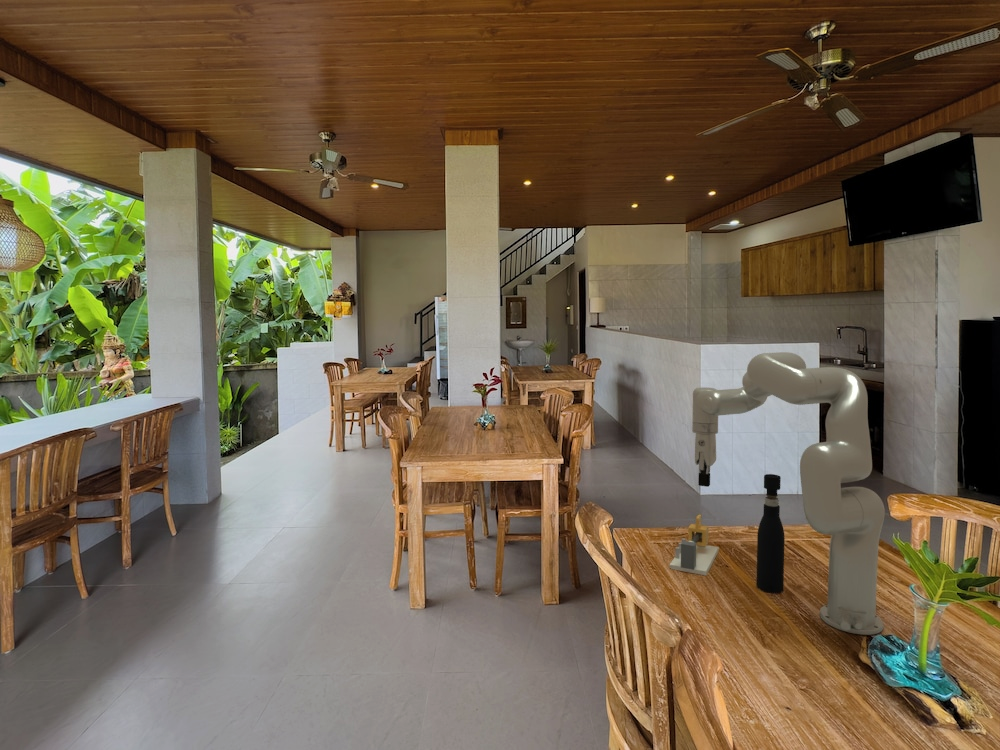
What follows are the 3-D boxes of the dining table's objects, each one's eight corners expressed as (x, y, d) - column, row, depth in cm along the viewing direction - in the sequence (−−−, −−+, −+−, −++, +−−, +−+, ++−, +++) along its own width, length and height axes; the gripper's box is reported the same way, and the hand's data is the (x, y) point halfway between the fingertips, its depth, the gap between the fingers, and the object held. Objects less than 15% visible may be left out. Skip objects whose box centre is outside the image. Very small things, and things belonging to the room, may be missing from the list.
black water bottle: (755, 590, 150) (757, 477, 148) (757, 580, 156) (759, 471, 154) (782, 595, 147) (785, 480, 145) (783, 585, 153) (786, 474, 151)
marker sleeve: (705, 546, 171) (706, 519, 171) (688, 543, 174) (688, 517, 173) (708, 542, 175) (708, 515, 174) (691, 539, 177) (691, 513, 177)
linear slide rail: (705, 576, 159) (706, 548, 159) (669, 569, 164) (669, 541, 164) (718, 550, 177) (719, 525, 176) (685, 545, 182) (685, 520, 181)
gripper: (713, 432, 171) (712, 493, 172) (722, 424, 184) (720, 481, 185) (687, 430, 174) (686, 490, 176) (697, 423, 187) (696, 478, 189)
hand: (704, 485), depth 181 cm, fingers closed
